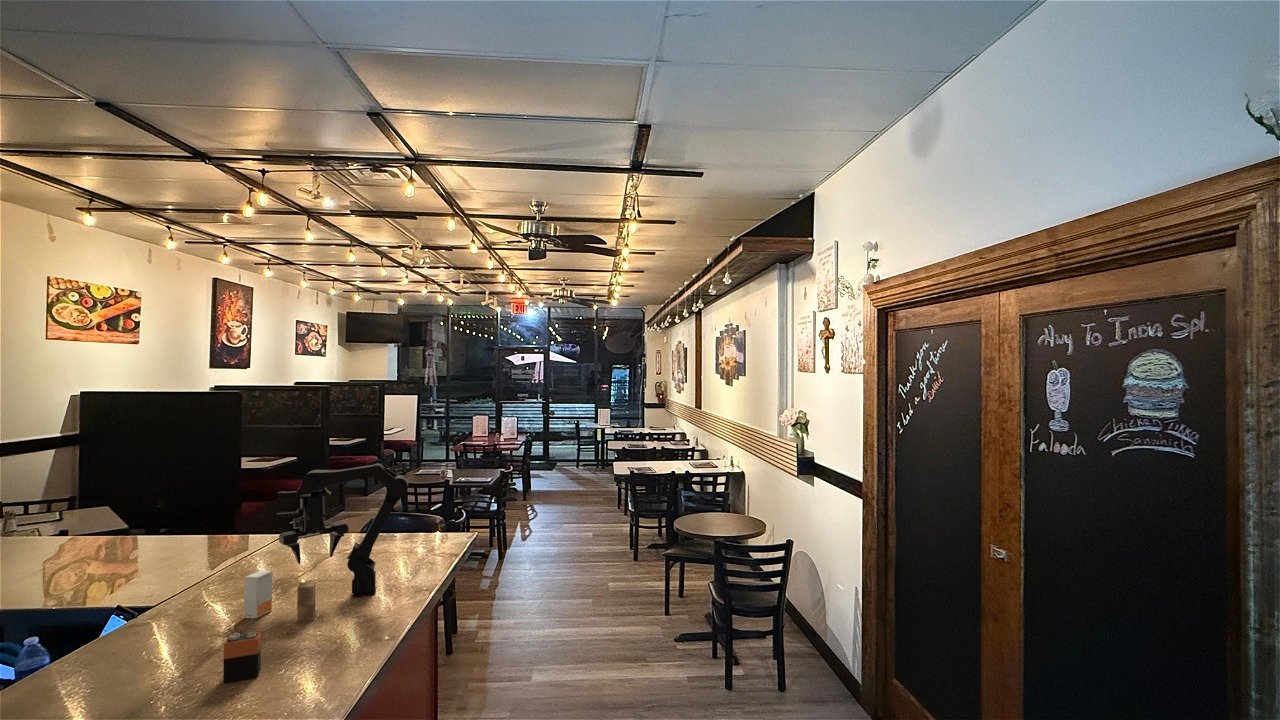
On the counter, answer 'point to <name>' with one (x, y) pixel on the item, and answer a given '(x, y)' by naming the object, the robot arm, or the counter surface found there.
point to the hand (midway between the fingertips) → (315, 560)
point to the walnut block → (306, 602)
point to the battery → (242, 657)
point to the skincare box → (258, 594)
